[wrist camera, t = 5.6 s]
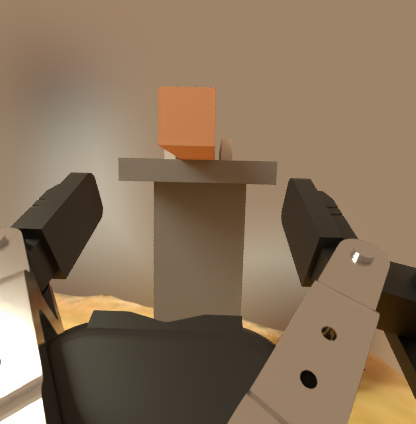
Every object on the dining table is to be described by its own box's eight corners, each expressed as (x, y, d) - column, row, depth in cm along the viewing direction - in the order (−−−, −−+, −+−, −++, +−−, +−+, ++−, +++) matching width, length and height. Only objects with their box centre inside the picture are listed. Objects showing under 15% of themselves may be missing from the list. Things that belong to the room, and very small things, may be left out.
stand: (103, 472, 27) (95, 134, 23) (146, 359, 44) (146, 154, 40) (278, 481, 26) (301, 138, 22) (253, 364, 43) (264, 157, 39)
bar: (213, 146, 14) (215, 87, 14) (158, 145, 14) (158, 86, 14) (214, 167, 36) (215, 145, 35) (192, 167, 36) (193, 145, 35)
